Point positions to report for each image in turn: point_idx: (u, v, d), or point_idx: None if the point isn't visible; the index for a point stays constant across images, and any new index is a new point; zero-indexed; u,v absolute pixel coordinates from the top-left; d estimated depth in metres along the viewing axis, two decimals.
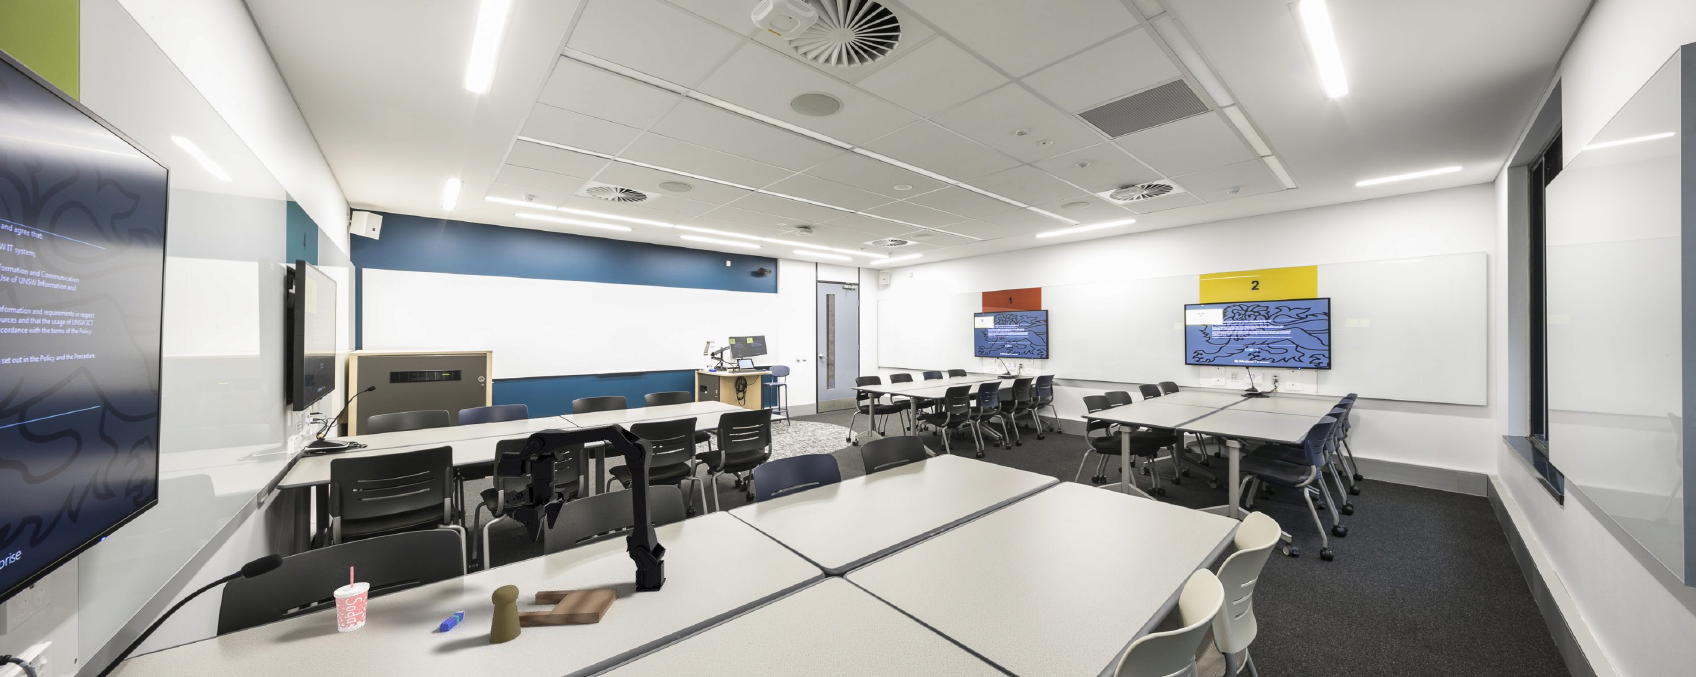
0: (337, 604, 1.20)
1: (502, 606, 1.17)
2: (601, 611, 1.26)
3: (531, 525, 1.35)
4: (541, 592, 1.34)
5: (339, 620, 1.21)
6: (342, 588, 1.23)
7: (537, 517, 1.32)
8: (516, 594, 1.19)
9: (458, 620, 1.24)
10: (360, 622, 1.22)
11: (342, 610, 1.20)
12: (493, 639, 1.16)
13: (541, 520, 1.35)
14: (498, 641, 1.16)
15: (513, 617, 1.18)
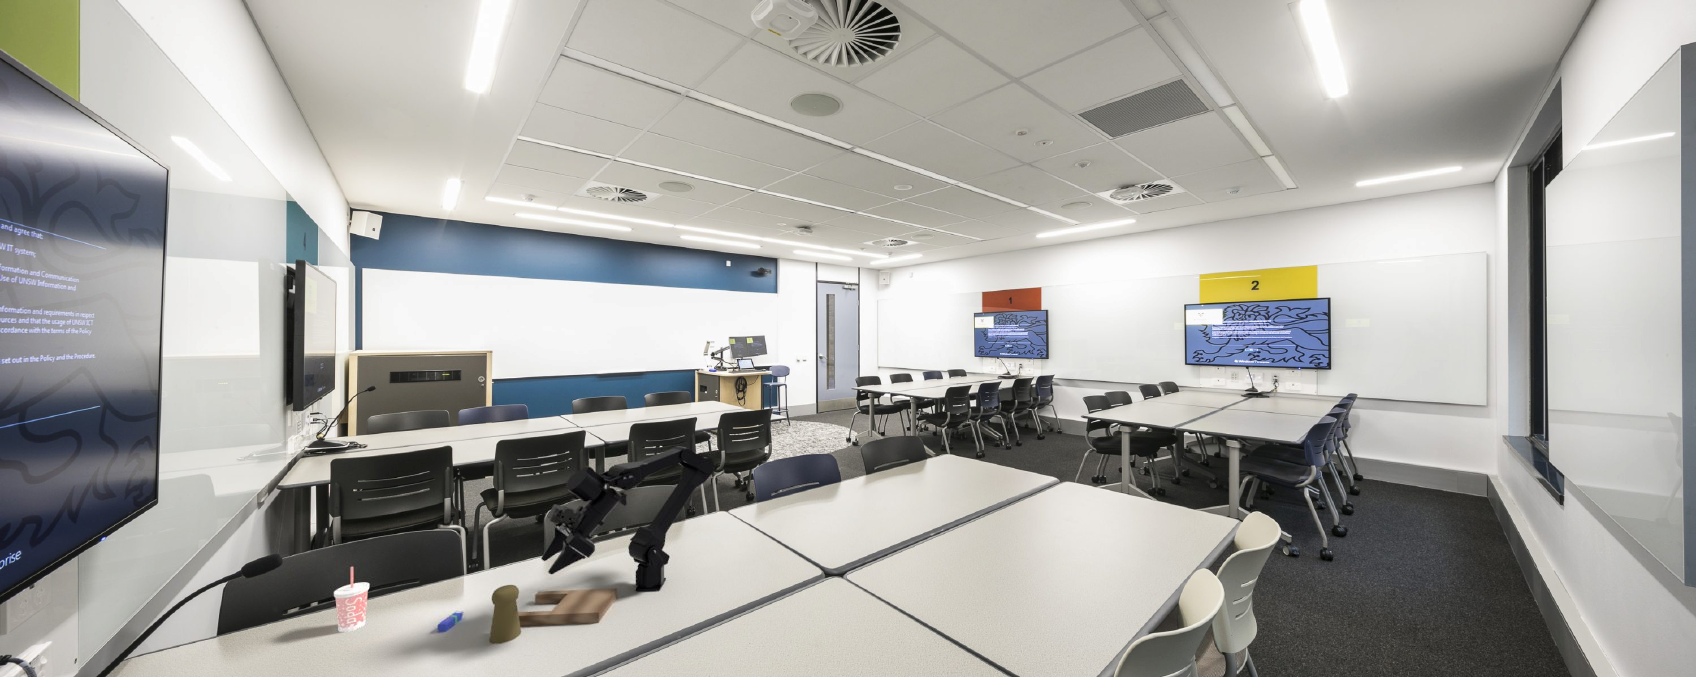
0: (337, 604, 1.20)
1: (502, 606, 1.17)
2: (601, 611, 1.26)
3: (566, 556, 1.22)
4: (541, 592, 1.34)
5: (339, 620, 1.21)
6: (342, 588, 1.23)
7: (589, 556, 1.22)
8: (516, 594, 1.19)
9: (456, 620, 1.24)
10: (360, 622, 1.22)
11: (342, 610, 1.20)
12: (493, 639, 1.16)
13: None
14: (498, 641, 1.16)
15: (513, 617, 1.18)
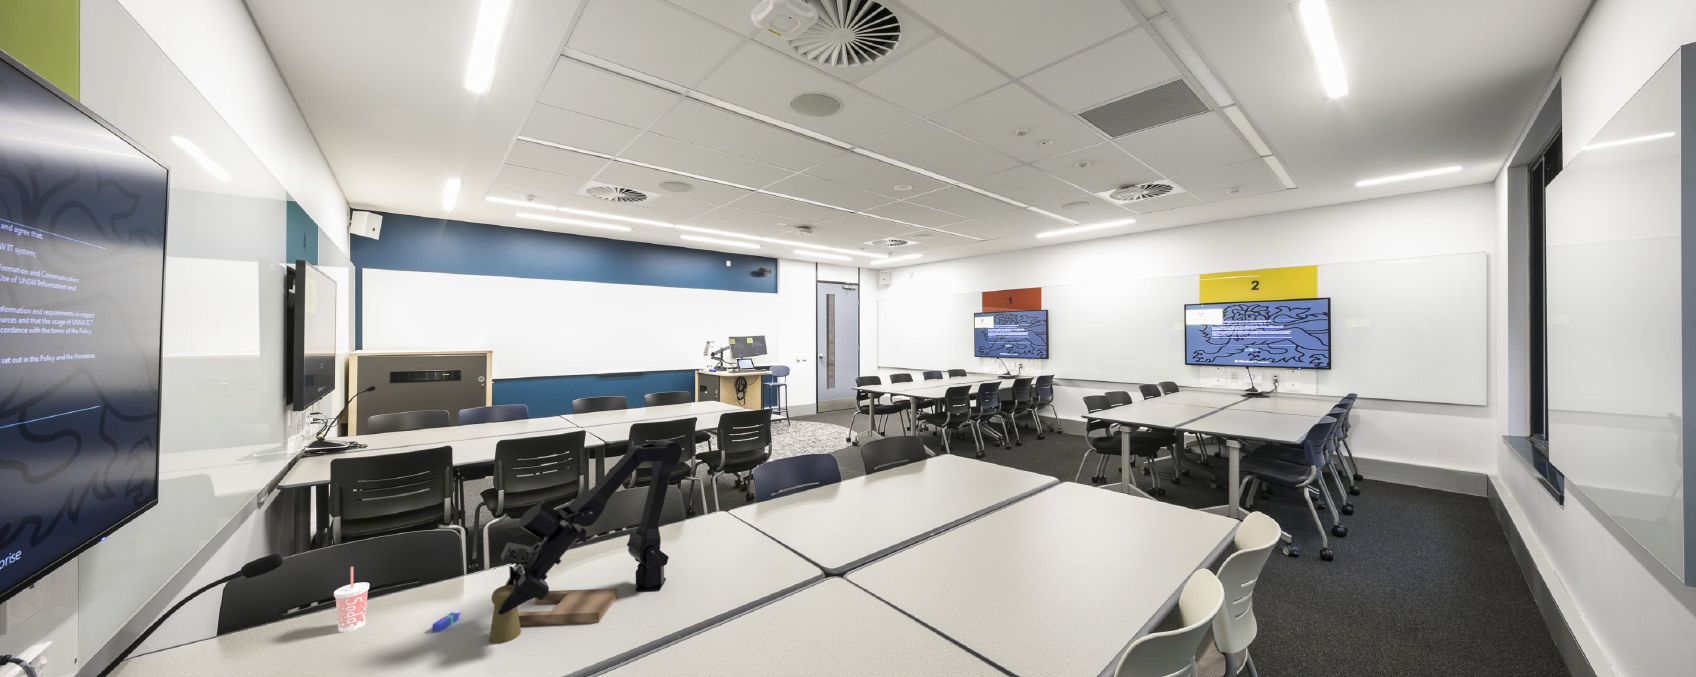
0: (337, 604, 1.20)
1: None
2: (601, 611, 1.26)
3: (516, 595, 1.17)
4: None
5: (339, 620, 1.21)
6: (342, 588, 1.23)
7: (543, 598, 1.16)
8: None
9: (452, 620, 1.24)
10: (360, 622, 1.22)
11: (342, 610, 1.20)
12: (493, 639, 1.16)
13: None
14: (498, 641, 1.16)
15: (513, 617, 1.18)
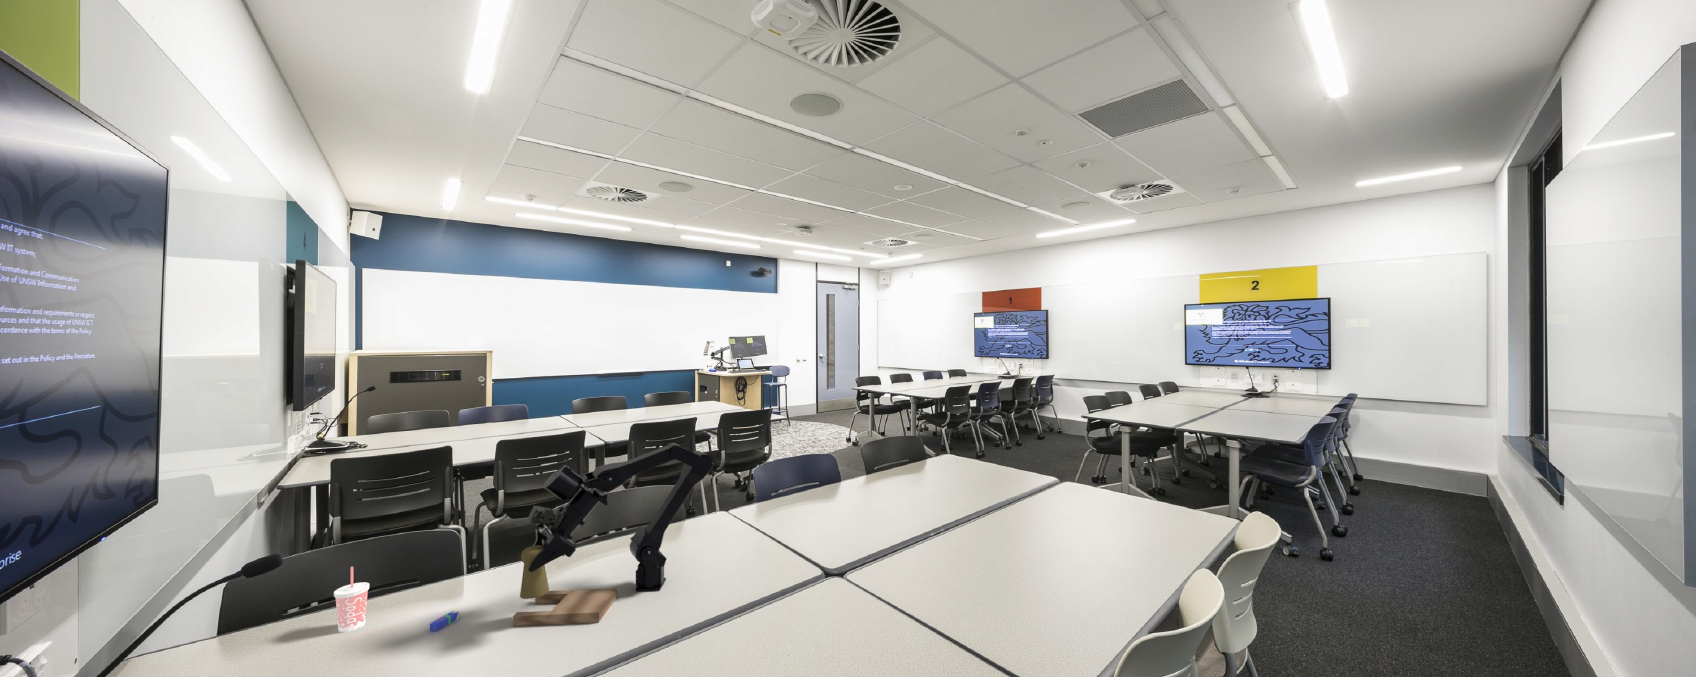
0: (337, 604, 1.20)
1: None
2: (601, 611, 1.26)
3: (545, 554, 1.24)
4: None
5: (339, 620, 1.21)
6: (342, 588, 1.23)
7: (570, 555, 1.23)
8: None
9: (450, 620, 1.24)
10: (360, 622, 1.22)
11: (342, 610, 1.20)
12: (524, 595, 1.24)
13: None
14: (529, 596, 1.23)
15: (542, 575, 1.25)
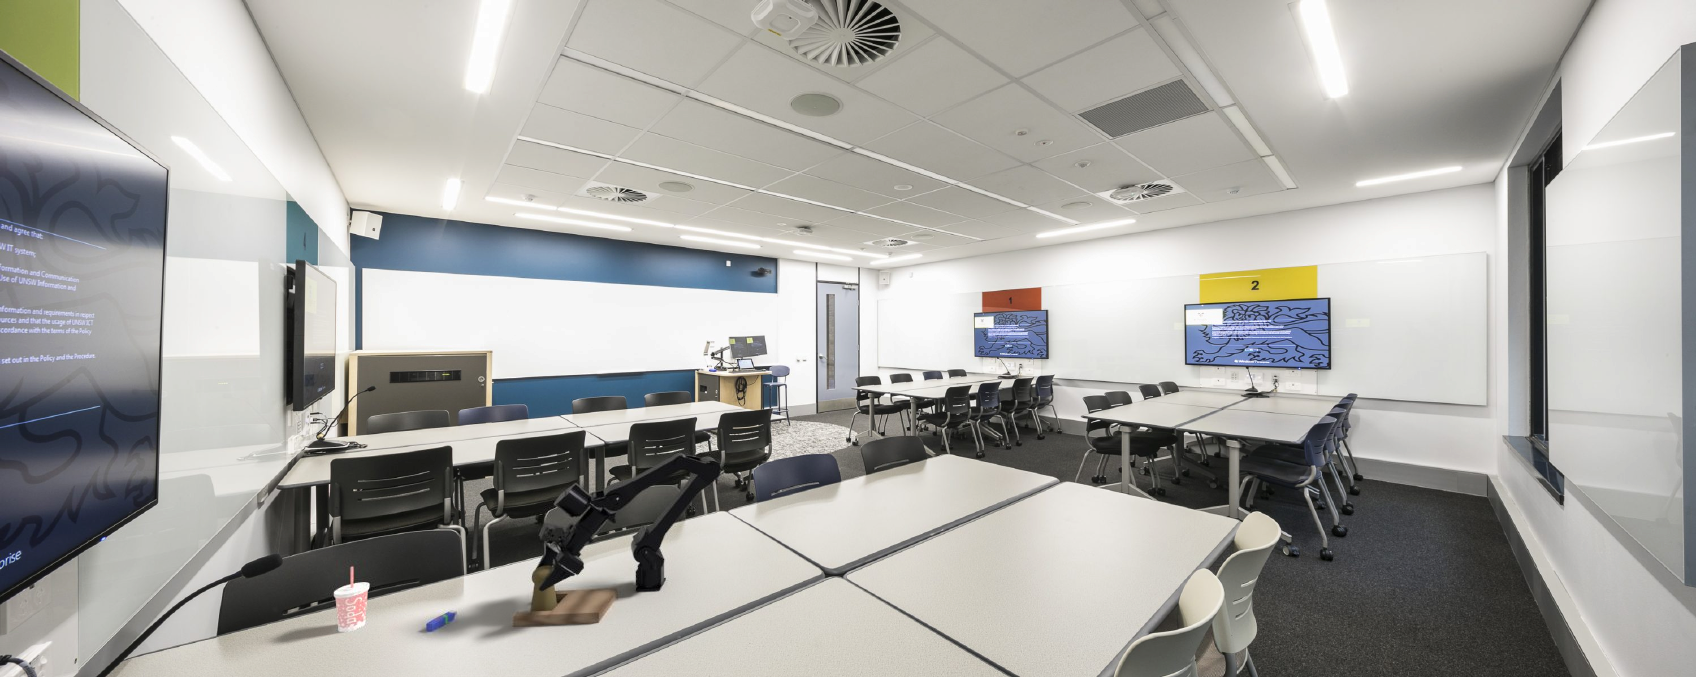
0: (337, 604, 1.20)
1: None
2: (601, 611, 1.26)
3: (556, 573, 1.26)
4: None
5: (339, 620, 1.21)
6: (342, 588, 1.23)
7: (578, 573, 1.26)
8: None
9: (447, 620, 1.24)
10: (360, 622, 1.22)
11: (342, 610, 1.20)
12: None
13: None
14: None
15: (551, 595, 1.28)
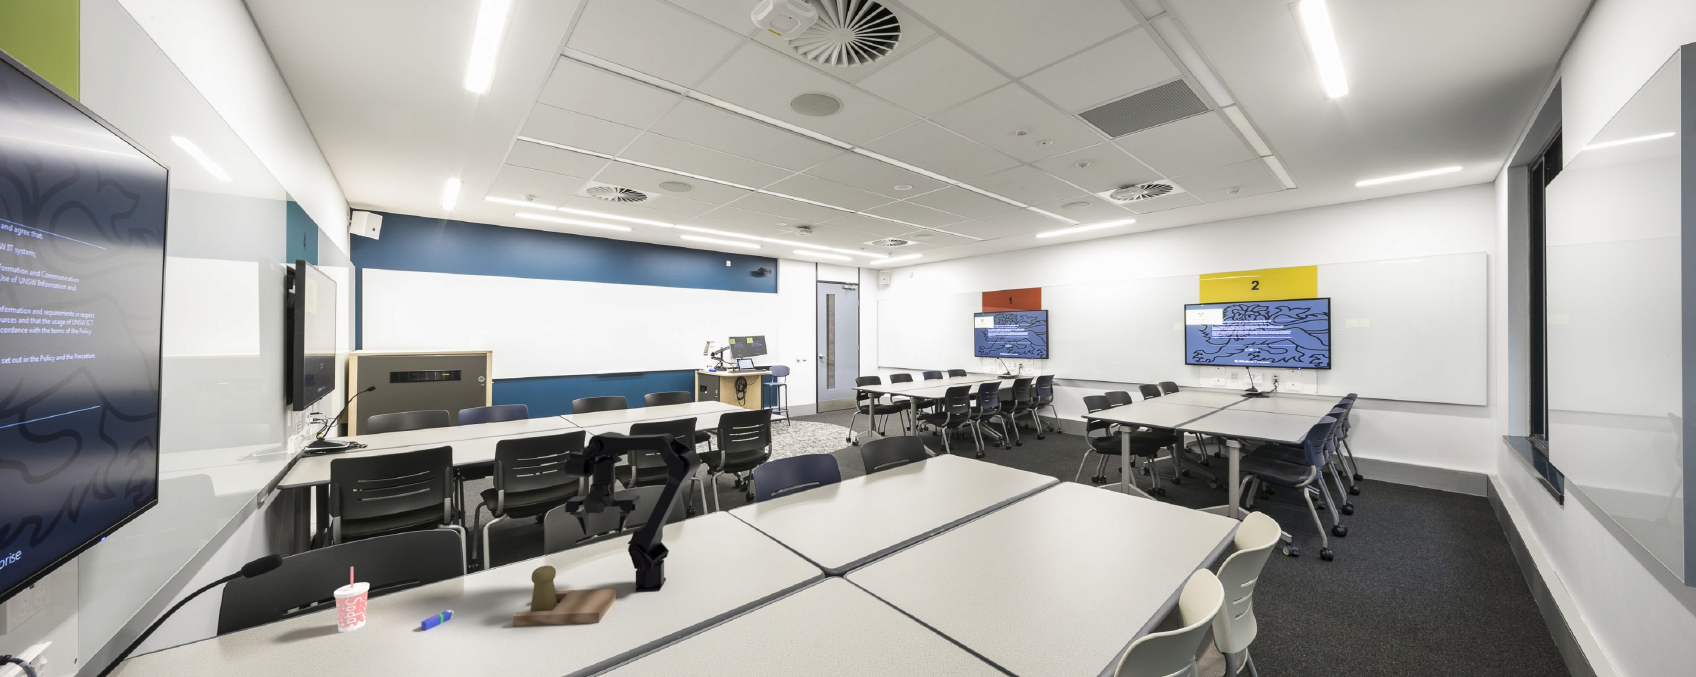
0: (337, 604, 1.20)
1: (541, 584, 1.27)
2: (601, 611, 1.26)
3: None
4: None
5: (339, 620, 1.21)
6: (342, 588, 1.23)
7: None
8: (554, 574, 1.29)
9: (442, 620, 1.25)
10: (360, 622, 1.22)
11: (342, 610, 1.20)
12: None
13: None
14: None
15: (551, 595, 1.28)
